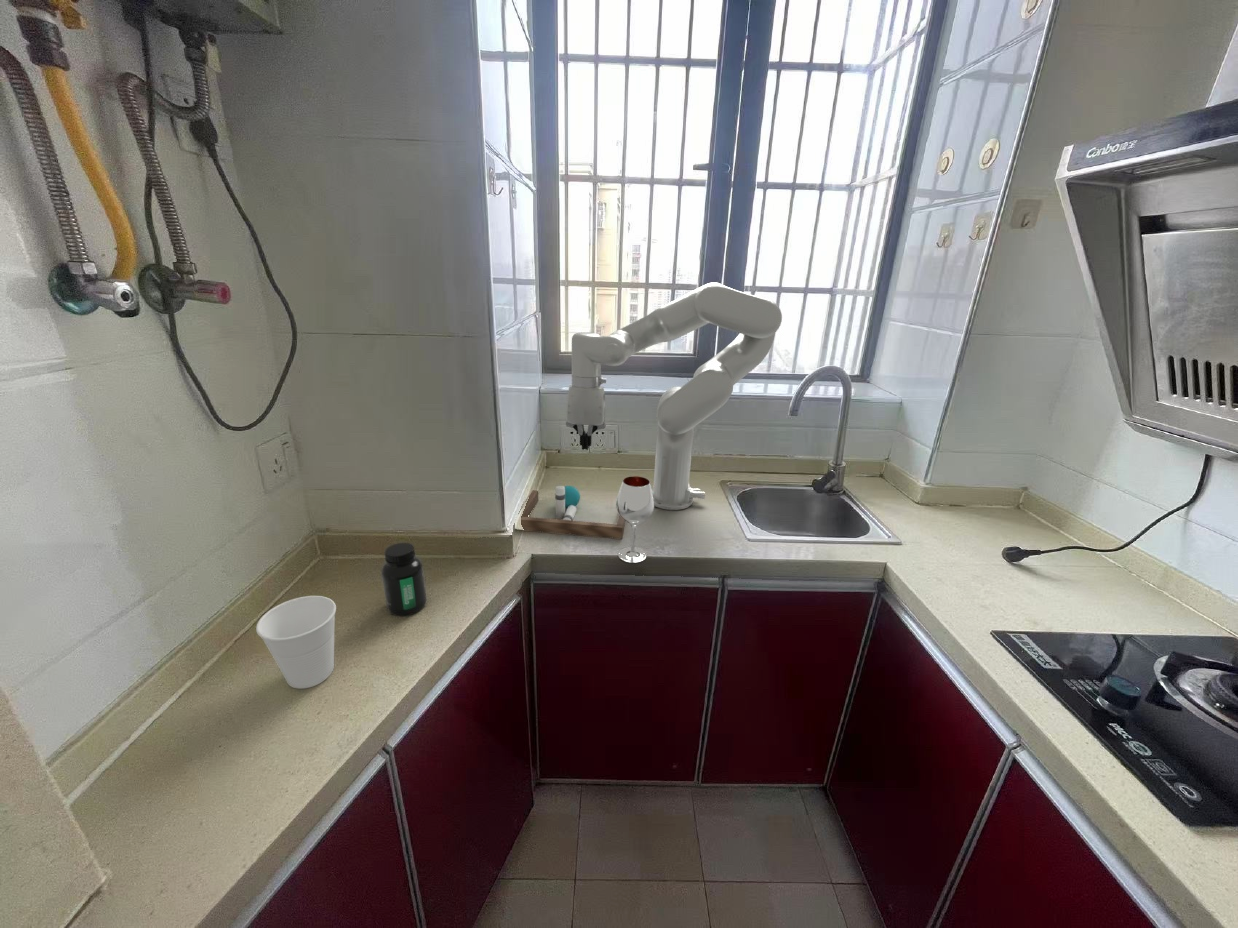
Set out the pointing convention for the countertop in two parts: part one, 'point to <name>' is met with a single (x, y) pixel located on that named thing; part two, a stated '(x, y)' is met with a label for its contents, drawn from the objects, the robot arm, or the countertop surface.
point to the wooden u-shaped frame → (568, 524)
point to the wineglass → (634, 511)
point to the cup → (301, 639)
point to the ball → (571, 496)
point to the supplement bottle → (403, 580)
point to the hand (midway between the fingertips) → (585, 447)
